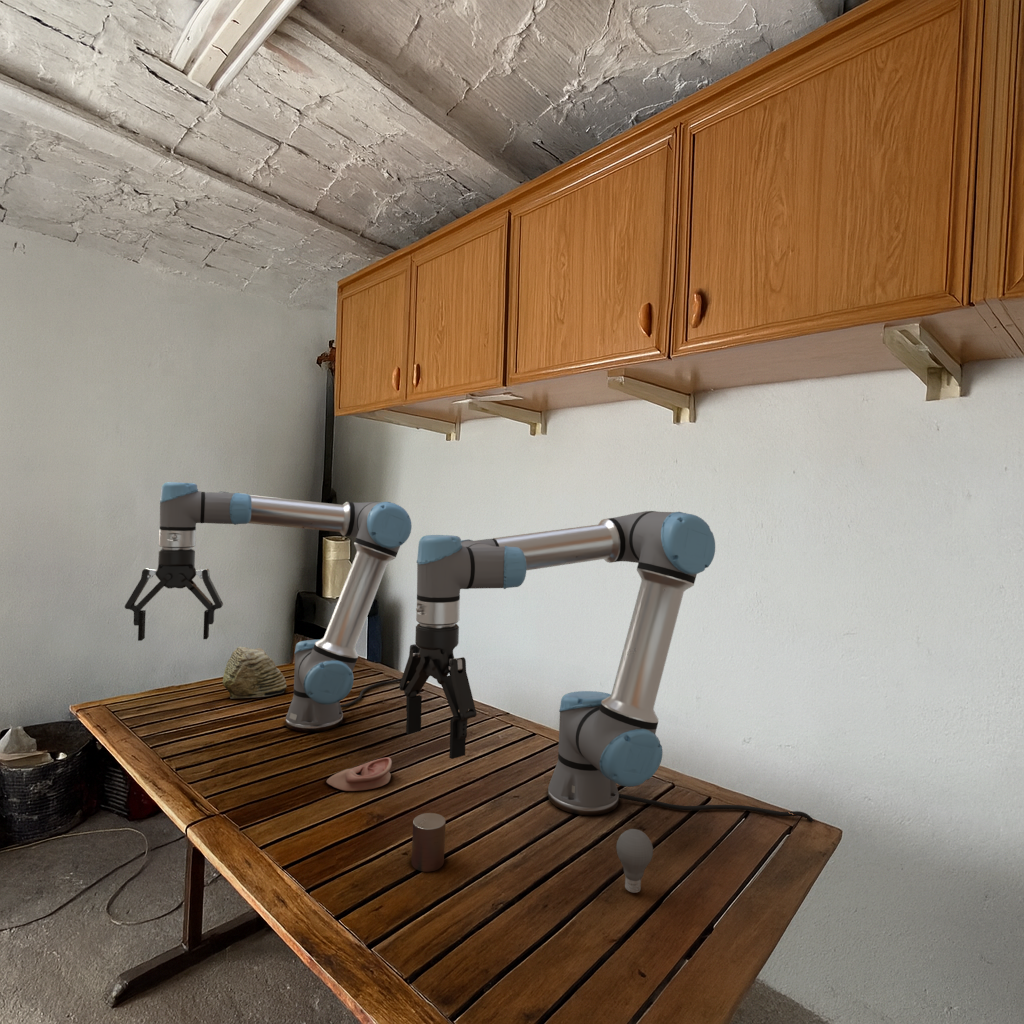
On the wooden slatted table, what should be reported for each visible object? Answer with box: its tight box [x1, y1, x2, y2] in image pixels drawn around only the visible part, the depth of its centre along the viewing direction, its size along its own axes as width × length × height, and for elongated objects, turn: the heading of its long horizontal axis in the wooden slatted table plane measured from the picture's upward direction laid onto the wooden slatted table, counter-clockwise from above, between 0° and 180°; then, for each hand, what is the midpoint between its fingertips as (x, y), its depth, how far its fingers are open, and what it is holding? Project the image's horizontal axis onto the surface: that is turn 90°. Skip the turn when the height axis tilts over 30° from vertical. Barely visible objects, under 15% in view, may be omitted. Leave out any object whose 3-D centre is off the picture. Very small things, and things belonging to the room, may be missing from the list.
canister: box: [410, 812, 447, 873], centre depth 111 cm, size 6×6×7 cm
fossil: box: [222, 646, 288, 699], centre depth 198 cm, size 9×18×15 cm, turn 132°
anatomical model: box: [326, 756, 393, 792], centre depth 142 cm, size 13×4×12 cm
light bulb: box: [615, 828, 654, 894], centre depth 106 cm, size 6×6×10 cm
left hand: (174, 638), depth 148 cm, fingers open, 13 cm apart
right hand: (434, 743), depth 111 cm, fingers open, 13 cm apart
